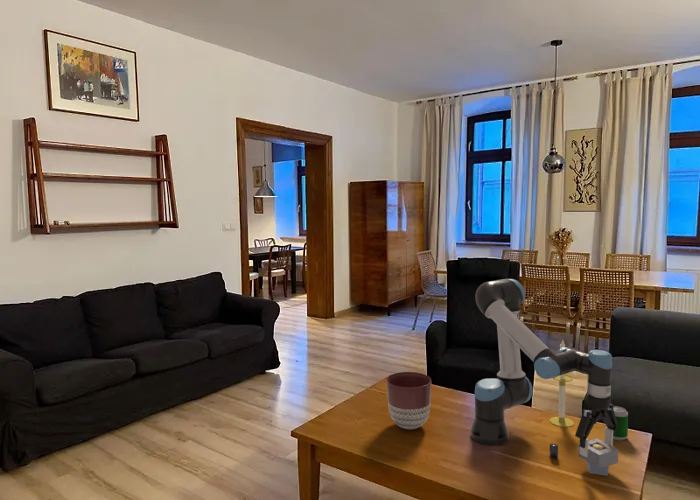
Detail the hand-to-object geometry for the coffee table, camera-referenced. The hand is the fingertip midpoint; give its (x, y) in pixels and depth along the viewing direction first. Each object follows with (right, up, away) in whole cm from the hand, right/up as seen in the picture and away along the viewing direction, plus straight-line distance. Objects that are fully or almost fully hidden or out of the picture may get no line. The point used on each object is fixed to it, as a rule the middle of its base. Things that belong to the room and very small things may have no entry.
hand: (596, 450), depth 174 cm
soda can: (+21, -5, +24) cm, 32 cm away
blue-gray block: (0, -7, 0) cm, 7 cm away
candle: (+5, -4, +39) cm, 39 cm away
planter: (-63, -6, +39) cm, 74 cm away
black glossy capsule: (-11, -7, +10) cm, 16 cm away
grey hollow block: (0, -3, 0) cm, 3 cm away
